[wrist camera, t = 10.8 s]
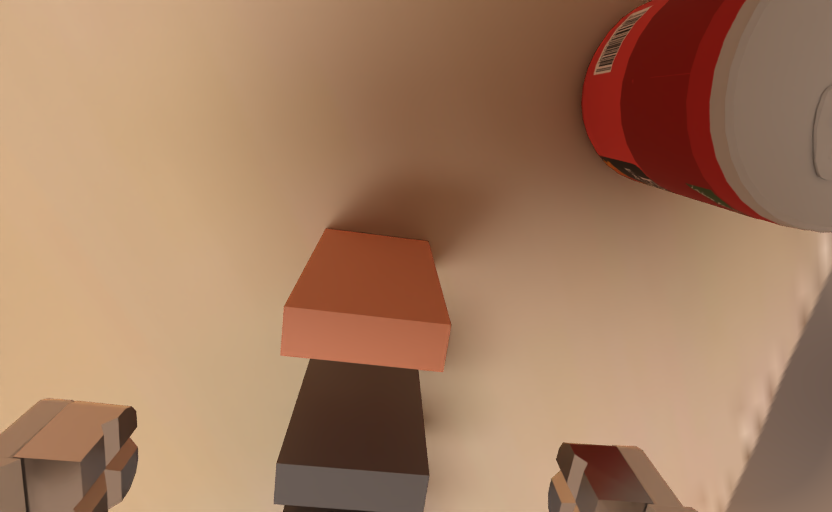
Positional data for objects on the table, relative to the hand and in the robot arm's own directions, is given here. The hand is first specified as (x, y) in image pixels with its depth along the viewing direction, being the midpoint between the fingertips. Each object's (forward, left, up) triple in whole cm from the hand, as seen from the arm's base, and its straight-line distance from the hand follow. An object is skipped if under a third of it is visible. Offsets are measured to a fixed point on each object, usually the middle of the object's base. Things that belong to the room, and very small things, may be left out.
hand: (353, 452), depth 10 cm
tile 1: (+6, 0, -16) cm, 17 cm away
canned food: (-9, +12, -16) cm, 22 cm away
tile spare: (0, 0, -16) cm, 16 cm away
